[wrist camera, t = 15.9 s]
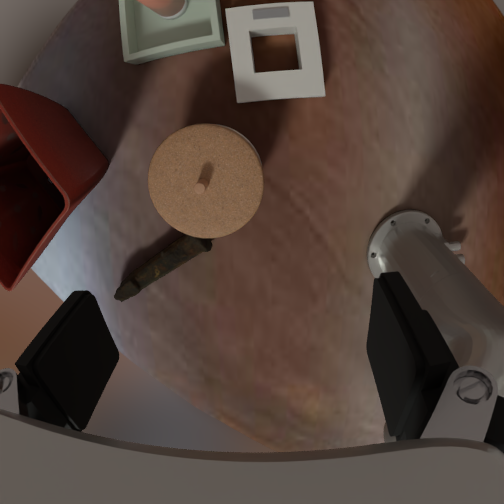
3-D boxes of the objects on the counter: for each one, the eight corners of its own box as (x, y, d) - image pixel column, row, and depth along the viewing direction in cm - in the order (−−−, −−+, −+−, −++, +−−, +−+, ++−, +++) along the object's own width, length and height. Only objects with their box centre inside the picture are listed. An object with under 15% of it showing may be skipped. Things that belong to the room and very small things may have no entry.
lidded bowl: (209, 100, 37) (187, 99, 27) (286, 161, 40) (290, 180, 30) (154, 174, 42) (120, 198, 32) (226, 229, 45) (212, 268, 35)
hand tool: (199, 219, 45) (191, 231, 40) (215, 241, 46) (209, 256, 42) (111, 274, 50) (99, 289, 46) (126, 293, 51) (115, 308, 47)
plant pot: (7, 161, 41) (-63, 192, 26) (65, 75, 35) (-16, 78, 20) (69, 241, 47) (8, 295, 32) (139, 165, 41) (73, 203, 26)
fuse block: (309, 10, 31) (313, 0, 27) (320, 96, 36) (325, 96, 32) (229, 17, 32) (224, 8, 28) (240, 103, 37) (236, 103, 33)
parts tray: (214, -42, 28) (208, -53, 24) (225, 45, 34) (220, 39, 30) (129, -20, 29) (117, -28, 25) (136, 64, 35) (123, 61, 31)
